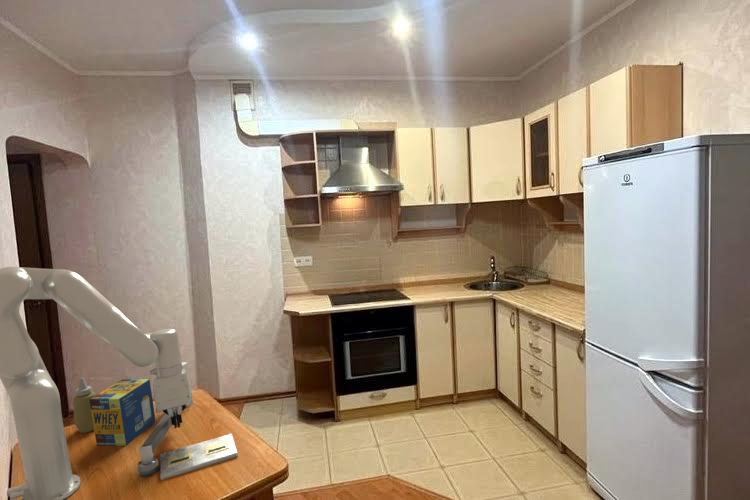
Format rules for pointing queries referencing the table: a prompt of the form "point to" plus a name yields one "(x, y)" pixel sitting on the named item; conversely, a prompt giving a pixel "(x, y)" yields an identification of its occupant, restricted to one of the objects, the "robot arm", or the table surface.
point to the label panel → (197, 456)
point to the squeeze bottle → (83, 407)
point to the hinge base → (148, 468)
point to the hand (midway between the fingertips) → (177, 425)
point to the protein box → (122, 412)
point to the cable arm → (155, 438)
